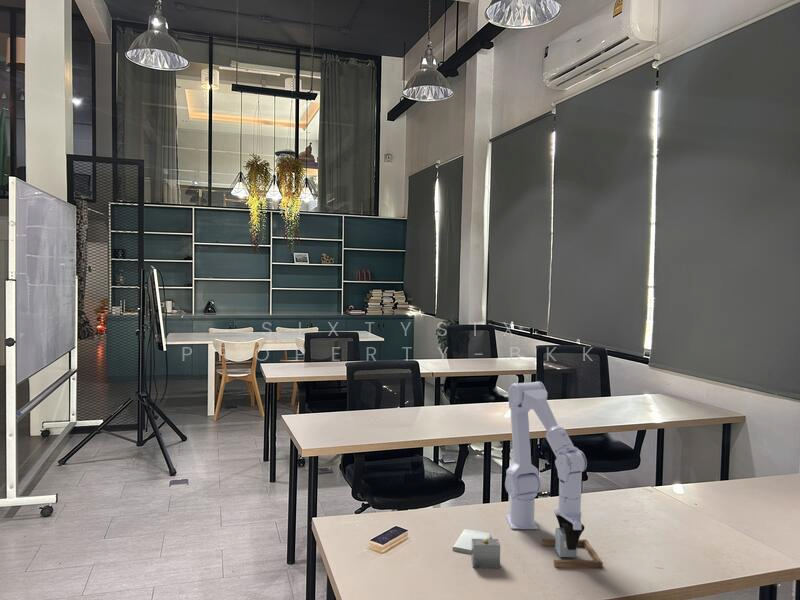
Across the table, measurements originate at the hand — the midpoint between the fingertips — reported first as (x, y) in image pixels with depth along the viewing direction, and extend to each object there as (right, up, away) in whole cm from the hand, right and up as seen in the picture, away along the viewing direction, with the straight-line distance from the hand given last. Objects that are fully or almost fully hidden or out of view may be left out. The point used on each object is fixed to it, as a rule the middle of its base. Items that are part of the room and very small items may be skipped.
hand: (568, 544), depth 154 cm
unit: (-24, -3, -5) cm, 24 cm away
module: (-1, -2, 0) cm, 3 cm away
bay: (0, -3, 0) cm, 3 cm away
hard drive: (-25, -3, +7) cm, 27 cm away
